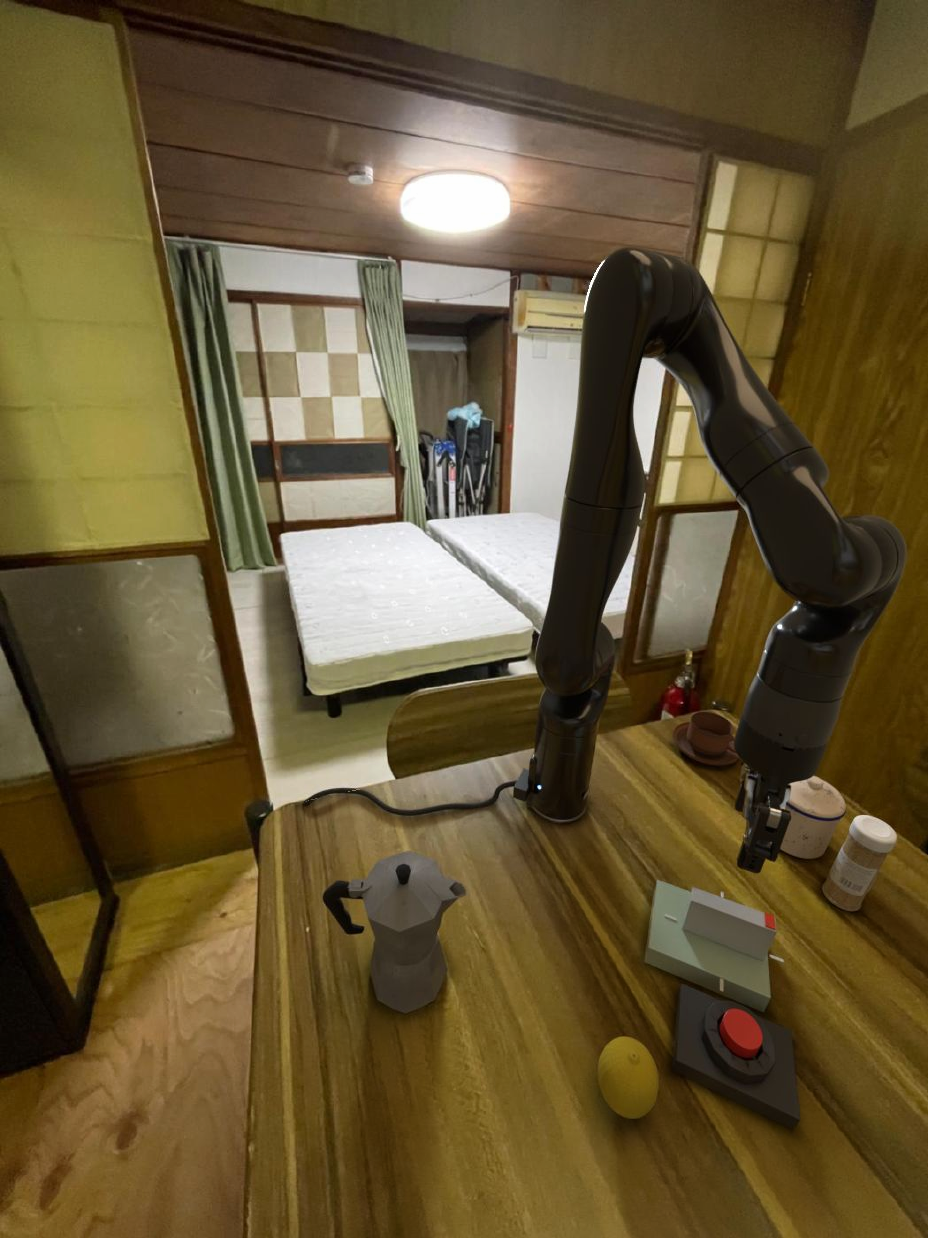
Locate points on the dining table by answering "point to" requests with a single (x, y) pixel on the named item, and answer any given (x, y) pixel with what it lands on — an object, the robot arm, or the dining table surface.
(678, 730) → the cup and saucer
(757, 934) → the gray rectangular block
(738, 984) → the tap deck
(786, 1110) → the button block
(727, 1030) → the tap button
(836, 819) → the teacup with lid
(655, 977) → the dining table surface
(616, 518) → the robot arm
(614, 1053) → the lemon
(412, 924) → the coffeepot
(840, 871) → the sprinkles bottle
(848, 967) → the dining table surface
